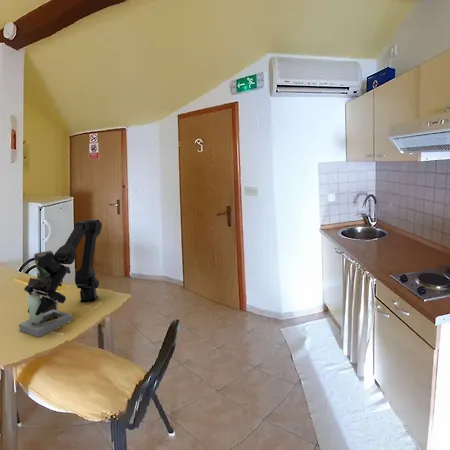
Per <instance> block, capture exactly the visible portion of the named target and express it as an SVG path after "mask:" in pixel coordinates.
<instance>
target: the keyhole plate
mask: <svg viewBox="0 0 450 450" xmlns="http://www.w3.org/2000/svg"><path fill="white" fill-rule="evenodd" d="M52 317H53V318H56V317H59V318H56V319H53V318H52ZM50 318H51V319H53V320H51V319H50ZM48 319H49V320H51V321H48ZM73 320H74V319H73V315H72V314H71V313H67V312H64V311H60V310H58V309H57V310H54V309H53V310H50V311H48V312H46V313H43V320H42V321H40V324H39V325H34V323H32V322H30V318H29V319H28V320H25V321H23V322H20V323H19V324H18V327H19V332H23V333H25V334H28V335H31V336H34V337H36V338H41V337H44V336H45V335H47V334H49V333H52V332H54V331H55V329H56V330H57V328H58V327H60V326H62V325H64V324H66V323H68V322H70V321H72V322H73ZM70 323H71V322H70ZM68 324H69V323H68ZM66 325H67V324H66ZM64 326H65V325H64ZM62 327H63V326H62ZM60 328H61V327H60ZM58 329H59V328H58ZM53 330H54V331H53Z"/></svg>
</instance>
